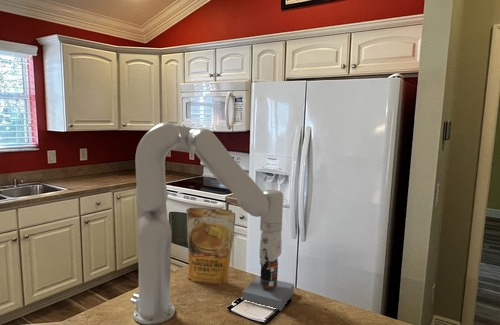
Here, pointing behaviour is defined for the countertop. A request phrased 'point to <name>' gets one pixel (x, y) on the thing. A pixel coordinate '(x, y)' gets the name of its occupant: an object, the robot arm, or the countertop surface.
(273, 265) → the supplement bottle
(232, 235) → the pancake mix bag
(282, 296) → the slate riser block
